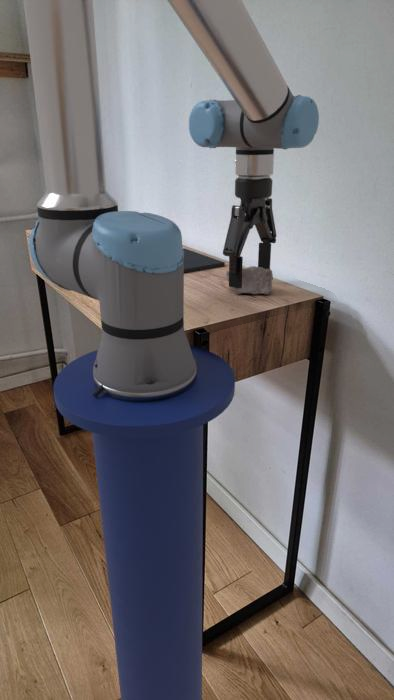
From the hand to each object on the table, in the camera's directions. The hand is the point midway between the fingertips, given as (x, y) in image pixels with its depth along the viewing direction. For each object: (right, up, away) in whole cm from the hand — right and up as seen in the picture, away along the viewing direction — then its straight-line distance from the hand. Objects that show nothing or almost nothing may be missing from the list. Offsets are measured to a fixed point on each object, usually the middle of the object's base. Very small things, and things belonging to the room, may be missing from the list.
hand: (250, 279), depth 106 cm
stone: (0, -3, +1) cm, 3 cm away
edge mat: (-16, +8, +25) cm, 31 cm away
